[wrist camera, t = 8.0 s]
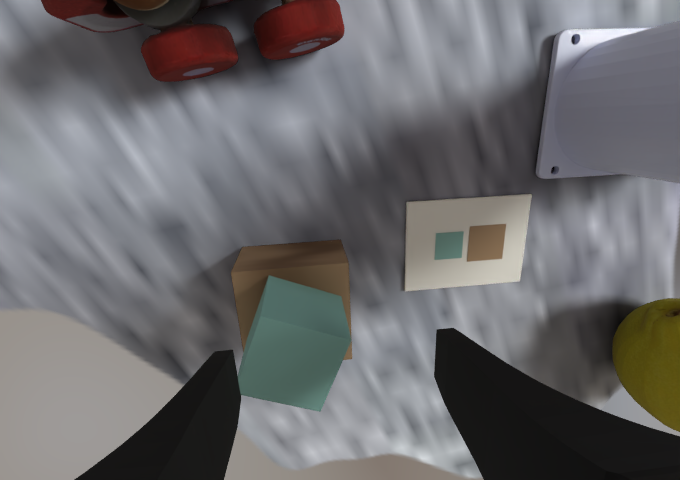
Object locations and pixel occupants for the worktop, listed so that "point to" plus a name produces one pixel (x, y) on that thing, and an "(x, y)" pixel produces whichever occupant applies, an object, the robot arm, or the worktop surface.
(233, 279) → the walnut block
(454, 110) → the worktop surface
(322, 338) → the teal block
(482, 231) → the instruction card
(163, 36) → the toy fire truck
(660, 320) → the lemon
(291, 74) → the worktop surface
